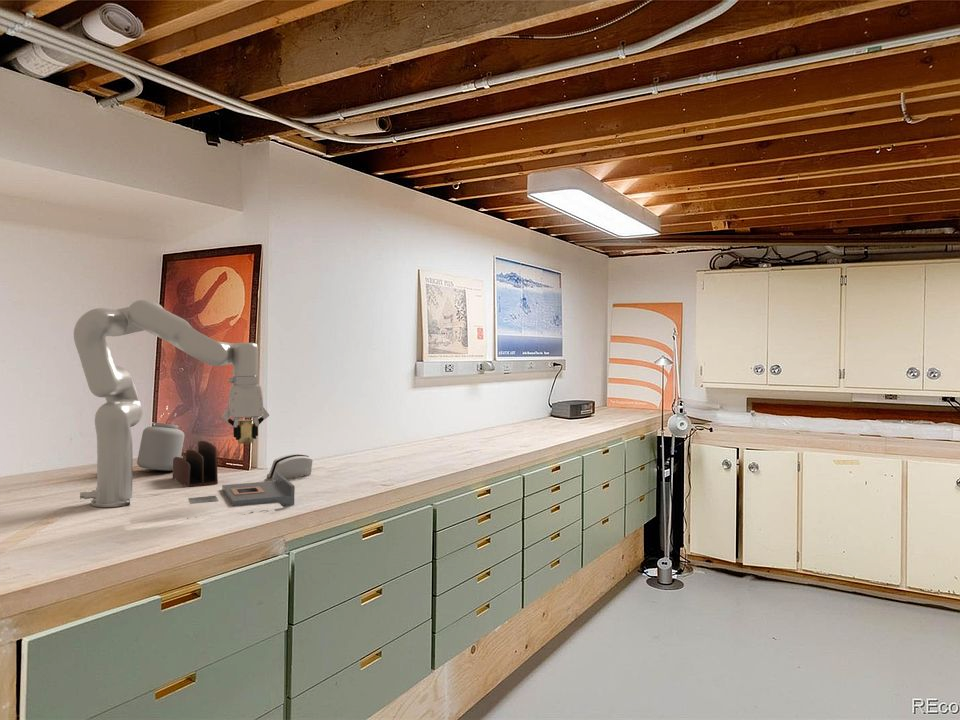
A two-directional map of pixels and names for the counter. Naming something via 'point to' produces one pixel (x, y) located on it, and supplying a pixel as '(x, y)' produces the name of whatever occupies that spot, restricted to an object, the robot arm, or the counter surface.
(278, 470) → the grey rounded block
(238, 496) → the plate
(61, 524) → the counter surface
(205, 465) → the letter holder
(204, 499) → the gray square slab
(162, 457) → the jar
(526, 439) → the counter surface
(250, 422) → the barrel peg
